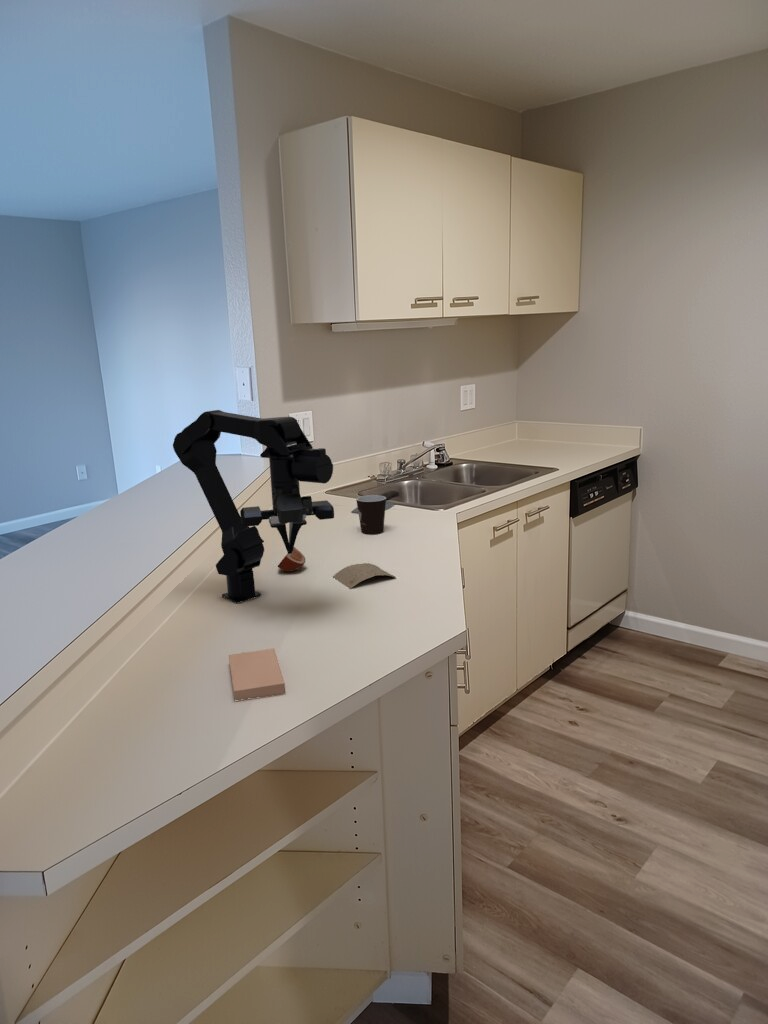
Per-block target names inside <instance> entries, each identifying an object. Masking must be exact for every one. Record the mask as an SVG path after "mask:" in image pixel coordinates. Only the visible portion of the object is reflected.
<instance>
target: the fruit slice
mask: <svg viewBox="0 0 768 1024" xmlns="http://www.w3.org/2000/svg"><path fill="white" fill-rule="evenodd" d="M305 564H306V557H305V555H304V554H303V553H302V551H300V550H299V549H297V548H296V546H294V548H293V552H292V554H288V553H286V555H285V556H284V557H283V558H282V560H281V561H280V562H279V563H278V565H277V568H278V569H280V570H281V571H283V572H293V571H296V570H298V569H300V568H302V567H303V566H304V565H305Z"/></svg>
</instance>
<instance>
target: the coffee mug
mask: <svg viewBox="0 0 768 1024" xmlns="http://www.w3.org/2000/svg"><path fill="white" fill-rule="evenodd" d="M380 495H381V494H379V495H376V494H369V495H361V496H359V497H356V500H355V501H356V506H357V507H358V513H359V514H358V518H359V519H358V520H359V524H360V525H359V526H360V531H361V533H362V534H363V535H367V536H375V535H380V534H383V533H384V530H385V529H384V527H385V518H386V517H385V516H386V511H385V505H386V502H387V500H386V497H384V496H380ZM357 507H356V508H357Z"/></svg>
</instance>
